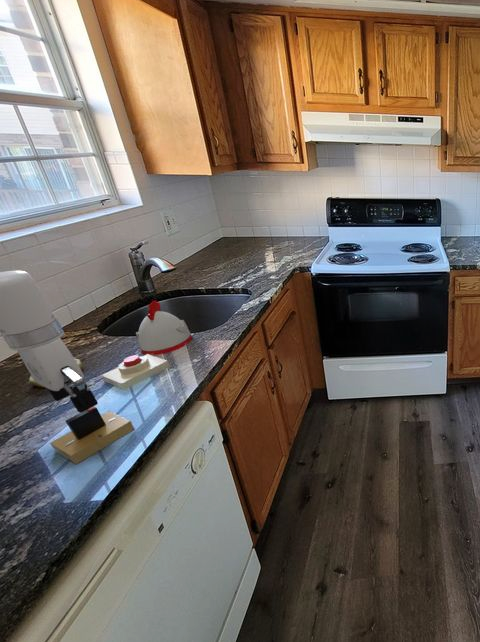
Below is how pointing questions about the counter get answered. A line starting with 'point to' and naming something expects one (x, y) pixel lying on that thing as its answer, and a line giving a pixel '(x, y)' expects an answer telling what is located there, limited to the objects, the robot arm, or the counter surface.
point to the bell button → (132, 360)
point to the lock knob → (85, 423)
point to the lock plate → (92, 438)
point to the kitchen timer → (162, 332)
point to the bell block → (135, 372)
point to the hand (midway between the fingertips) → (76, 402)
